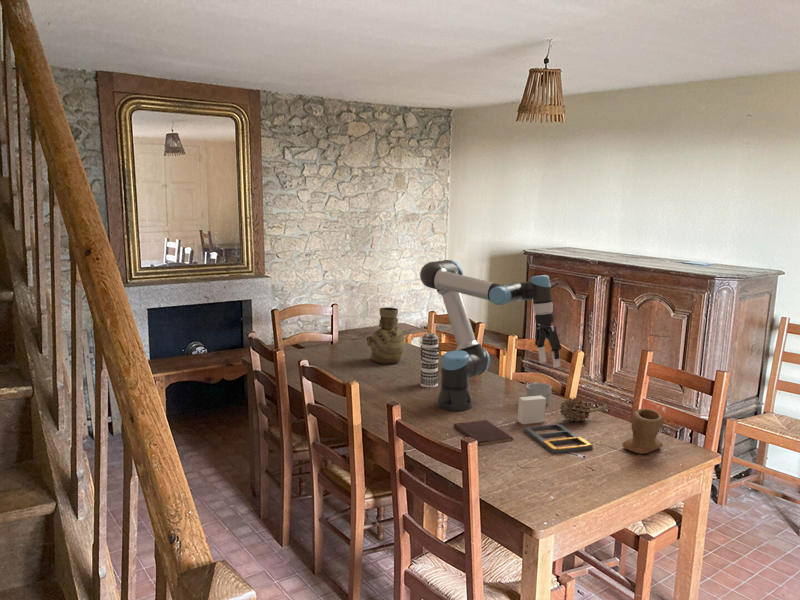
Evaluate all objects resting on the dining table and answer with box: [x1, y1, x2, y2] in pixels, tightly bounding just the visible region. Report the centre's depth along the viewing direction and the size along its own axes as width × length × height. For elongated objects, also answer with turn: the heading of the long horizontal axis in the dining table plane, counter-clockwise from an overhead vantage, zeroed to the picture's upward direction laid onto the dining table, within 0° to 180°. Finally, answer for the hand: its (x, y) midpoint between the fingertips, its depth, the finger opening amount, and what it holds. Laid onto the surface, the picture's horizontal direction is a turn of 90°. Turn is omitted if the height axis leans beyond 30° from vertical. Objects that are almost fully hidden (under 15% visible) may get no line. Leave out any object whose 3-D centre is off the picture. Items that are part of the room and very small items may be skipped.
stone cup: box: [622, 408, 664, 455], centre depth 221 cm, size 15×12×15 cm
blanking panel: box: [517, 396, 547, 425], centre depth 249 cm, size 10×4×10 cm, turn 106°
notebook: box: [453, 419, 514, 446], centre depth 236 cm, size 15×20×2 cm
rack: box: [522, 423, 594, 455], centre depth 230 cm, size 16×23×2 cm
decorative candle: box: [420, 332, 440, 388], centre depth 295 cm, size 9×9×25 cm
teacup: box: [525, 381, 553, 405], centre depth 273 cm, size 14×11×8 cm
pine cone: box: [558, 397, 609, 422], centre depth 251 cm, size 22×10×10 cm, turn 110°
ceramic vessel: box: [366, 306, 405, 365], centre depth 336 cm, size 19×21×30 cm
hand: (549, 364), depth 250 cm, fingers open, 13 cm apart
